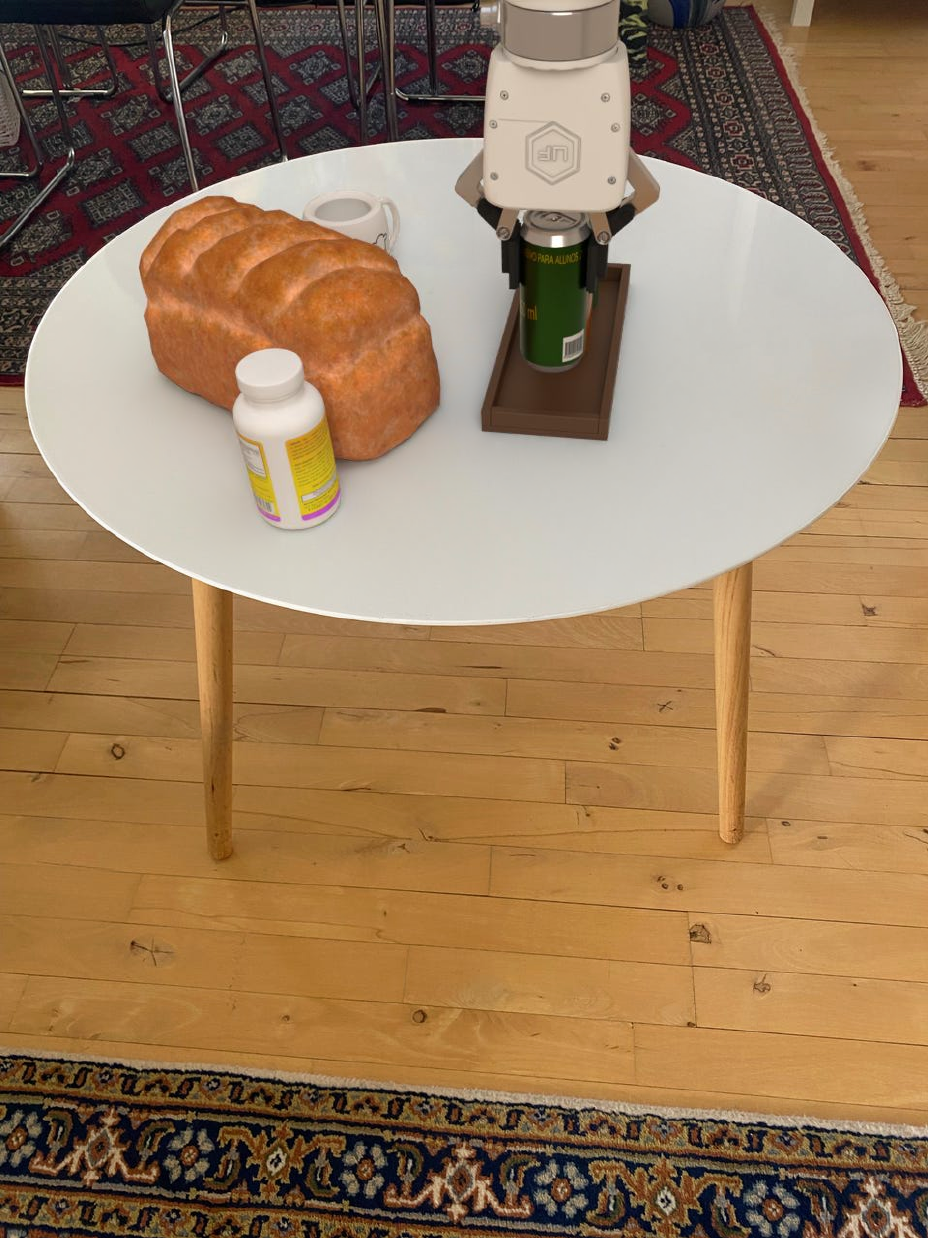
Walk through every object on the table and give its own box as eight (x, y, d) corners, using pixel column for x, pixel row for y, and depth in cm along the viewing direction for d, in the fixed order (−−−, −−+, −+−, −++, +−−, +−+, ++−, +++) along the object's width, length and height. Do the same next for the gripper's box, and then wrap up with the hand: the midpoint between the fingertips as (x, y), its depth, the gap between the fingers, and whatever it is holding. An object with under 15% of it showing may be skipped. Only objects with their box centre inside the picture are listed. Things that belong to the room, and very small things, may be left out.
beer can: (597, 352, 83) (606, 213, 74) (558, 382, 80) (562, 241, 71) (546, 331, 85) (549, 193, 76) (507, 359, 82) (504, 220, 74)
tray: (629, 283, 99) (631, 263, 97) (607, 440, 82) (608, 420, 80) (524, 277, 100) (524, 258, 99) (481, 431, 84) (480, 410, 82)
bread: (251, 311, 98) (215, 153, 87) (461, 399, 87) (451, 230, 75) (143, 378, 91) (88, 215, 80) (356, 484, 80) (328, 311, 68)
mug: (355, 311, 98) (344, 234, 92) (294, 286, 101) (280, 211, 95) (432, 260, 104) (426, 185, 98) (372, 239, 107) (363, 166, 102)
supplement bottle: (349, 479, 80) (325, 340, 71) (333, 535, 76) (306, 395, 66) (268, 476, 81) (234, 339, 71) (249, 532, 76) (209, 392, 67)
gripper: (419, 44, 63) (438, 301, 76) (692, 48, 60) (661, 314, 74) (442, 5, 68) (456, 254, 81) (696, 7, 65) (666, 264, 79)
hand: (554, 280), depth 77 cm, fingers closed on beer can, 5 cm apart
